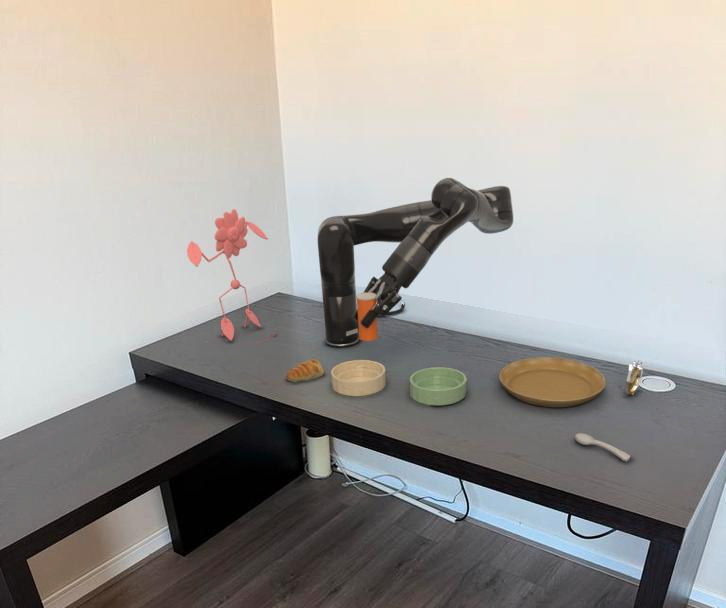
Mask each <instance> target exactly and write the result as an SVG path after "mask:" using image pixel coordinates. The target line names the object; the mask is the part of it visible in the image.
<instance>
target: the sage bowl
mask: <svg viewBox="0 0 726 608" xmlns="http://www.w3.org/2000/svg"><path fill="white" fill-rule="evenodd" d="M467 383H468V379H467V375H466V374H465V373H463V372H462V371H461V370H458V369H456V368H455V369H454V368H451V367H442V366H438V367H436V366H435V367H427V368H422V369H420V370H417V371H415V372H413V373H412V374H411V375H410V377H409V396H410V397H411V399H413V400H414V402H417V403H420V404H423V405H427V406H446V405H453V404H456V403H459V402H461V401H462V400H463V399H464V398H465V397H466V395H467V385H468V384H467Z"/></svg>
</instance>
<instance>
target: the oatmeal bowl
mask: <svg viewBox="0 0 726 608" xmlns="http://www.w3.org/2000/svg"><path fill="white" fill-rule="evenodd" d="M386 376H387V375H386V367H385V366H384V364H382V363H380V362H378V361H374V360H369V359H353V360H348V361H344V362H341V363H338V364H336V365H335V366H333V368H331V371H330V378H331V388H332V390H333V392H336V393H337V394H340V395H342V396H349V397H364V396H370V395H373V394H377V393H379V392H380V391H382V390H383V389H385V387H386V385H387V379H386V378H387V377H386Z"/></svg>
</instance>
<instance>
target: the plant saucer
mask: <svg viewBox="0 0 726 608" xmlns="http://www.w3.org/2000/svg"><path fill="white" fill-rule="evenodd" d="M498 377H499V381H500V383H501V385H502V386H503V388H504V389H505V390H506V391H507V392H508V393H509V394H510V395H511V396H512V397H514V398H516V399H518V400H519V401H522V402H524V403H526V404H530V405H533V406H536V407H537V406H538V407H545V408H569V407H575V406H580V405H582V404H585V403H587V402H589V401H592V400H593V399H595V398H596V397H598V395H600V394H601V392H602V391H603V390H604V388H605V387H606V384H607V382H606V381H607V380H606V377H605V376H604V375H603V374H602V372H601V371H600V370H598V369H597V368H595V367H593V366H592V365H590V364H587V363H584V362H581V361H577V360H574V359H569V358H563V357H554V356H552V357H551V356H541V357H540V356H539V357H528V358H523V359H519V360H515V361H512V362H511V363H508V364H507V365H504V367H503V368H502V369H501V370H500V371H499V376H498Z"/></svg>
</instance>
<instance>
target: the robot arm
mask: <svg viewBox="0 0 726 608" xmlns="http://www.w3.org/2000/svg"><path fill="white" fill-rule="evenodd" d="M430 195H431V196H430V198H431V200H430V199H429V200H423V201H416V202H410V203H406V204H400V205H397V206H392V207H389V208H384V209H381V210H380V209H379V210H376V211H372V212H369V213H361V214H349V215H348V214H347V215H333V216H329V217H327V218H326V219H324V220H323V221H321V223H320V224H319V226H318V229H317V251H318V263H319V273H320V282H321V294H322V295H321V296H322V306H323V319H324V330H325V331H324V332H325V344H326V345H328V346H329V347H333V348H334V347H335V348H345V347H346V348H347V347H352V346H354V345H356V344H358V343H359V342H360V339H359V327H358V310H357V298H356V296H357V287H356V266H355V265H356V263H355V246H359V245H362V244H367V243H374V242H377V243H379V242H381V243H399V244H398V245H397V247H396V248H395V249H394V251H392V253H391V254H390V255H389V257H387V258H388V259H386V261H385V262H384V264H382V266H381V269H382V271H383V272H384V273H383V274H382V275H381V276H380V277H379V278H376V276H372V277H371V279H370V281H369V282H368V283H367V286H366V287H365V289H364V290H363V292H362V293H375V294H376V296H375V299H374V300H375V302H374V304H373V305H372V307H371V310H369V311H368V312H367V314H366V315H365V316H364V318H363V319H362V320H361V322H360V323H361V324H362V325H363V326H364V327H365V328H368V327H369V326H370V325H371V324H372V322H373V321H374V320H375V319H376V317H377V318H378V317H385V316H393V315H397V314H399V313H401V312H403V311H404V309H405V304H404V305H403V304H402V305H401V304H400V306H401V307H400V308H399V309H396V310H393V308H394V307H396V306H397V304H399V303H400V302H401V301H402V300H403V297H402V296H401V295H400V294H399V293H400V290H401V288H403V289H408V288H410V286H411V285H412V283H413V282H414V281H415V279H416V278H417V277H418V276H419V274H420V273H421V272H422V271H423V270H424V268H425V267H426V265H427V264H428V263H429V261H430V259H431V258H432V257H433V255H434V254H435V252H436V251H437V250H438V249H439V247H440V246H441V244H443V242H444V241H445V240H446V239H448V238H449V237H450V236H451V235H452V234H453V233H455V232H456V231H457V230H458V229H461V227H463V226H465V224H467V223H470V224H471V225H473V226H474V227H475V228H476V229H478V231H479V232H481V233H483V234H489V235H491V234H499V233H502V232H505V231H508V230H509V229H511V227H512V226H513V224H514V209H513V201H512V193H511V189H510V188H509V186H506V185H495V186H491V187H485V188H481V189H478V190H476V189H474V188H469V187H468V186H466V185H465V184H463V183H462V182H460V181H459V180H457V179H455V178H453V177H445V178H442V179H441V180H439V181H437V183H435V184H434V187H433V189H432V191H431V194H430Z"/></svg>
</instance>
